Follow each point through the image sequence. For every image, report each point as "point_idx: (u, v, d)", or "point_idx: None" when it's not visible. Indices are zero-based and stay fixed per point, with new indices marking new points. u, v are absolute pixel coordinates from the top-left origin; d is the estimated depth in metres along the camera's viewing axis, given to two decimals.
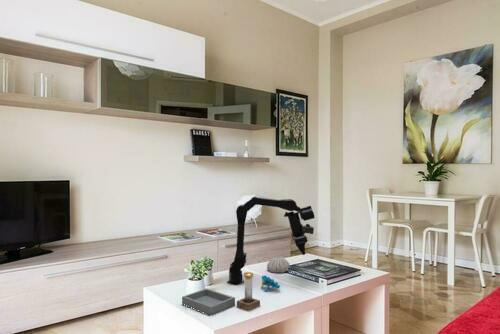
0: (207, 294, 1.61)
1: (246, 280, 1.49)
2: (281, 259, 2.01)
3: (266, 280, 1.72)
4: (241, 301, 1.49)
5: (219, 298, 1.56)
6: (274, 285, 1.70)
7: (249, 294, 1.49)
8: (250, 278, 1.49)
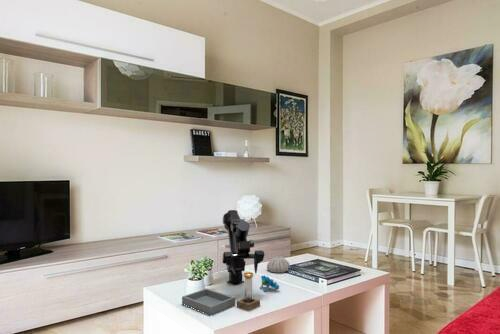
0: (207, 294, 1.61)
1: (246, 280, 1.49)
2: (281, 259, 2.01)
3: (265, 280, 1.71)
4: (241, 301, 1.49)
5: (219, 298, 1.56)
6: (273, 285, 1.70)
7: (249, 294, 1.49)
8: (250, 278, 1.49)
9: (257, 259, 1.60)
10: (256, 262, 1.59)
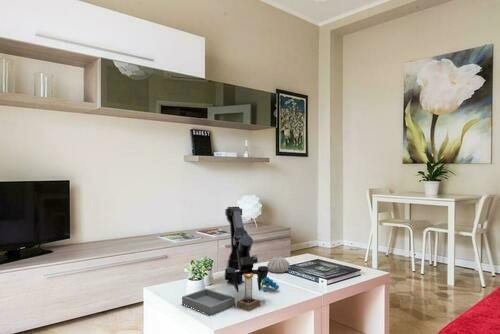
0: (207, 294, 1.61)
1: (246, 280, 1.49)
2: (281, 259, 2.01)
3: (265, 280, 1.71)
4: (241, 301, 1.49)
5: (219, 298, 1.56)
6: (273, 285, 1.70)
7: (249, 294, 1.49)
8: (250, 278, 1.49)
9: (261, 275, 1.53)
10: (259, 279, 1.52)
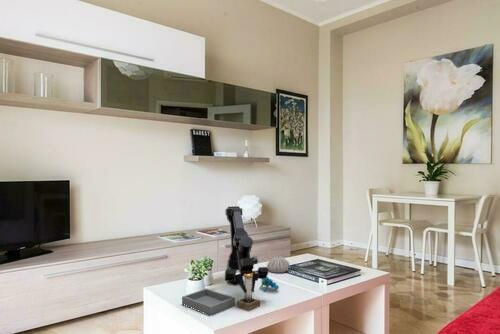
0: (207, 294, 1.61)
1: (246, 280, 1.49)
2: (281, 259, 2.01)
3: (265, 280, 1.71)
4: (241, 301, 1.49)
5: (219, 298, 1.56)
6: (273, 285, 1.70)
7: (249, 294, 1.49)
8: (250, 278, 1.49)
9: (254, 277, 1.52)
10: (253, 280, 1.52)
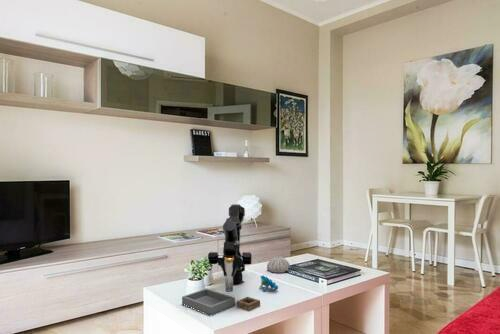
0: (207, 294, 1.61)
1: (226, 264, 1.49)
2: (281, 259, 2.01)
3: (265, 280, 1.71)
4: (241, 301, 1.49)
5: (219, 298, 1.56)
6: (272, 285, 1.70)
7: (229, 278, 1.48)
8: (230, 262, 1.48)
9: (236, 261, 1.51)
10: (234, 265, 1.51)
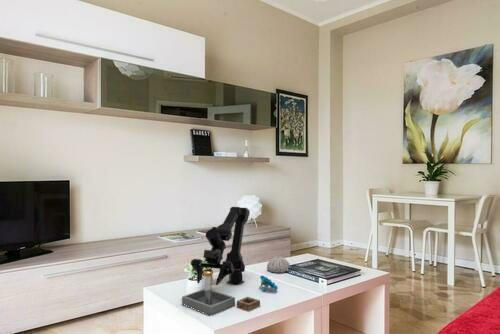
0: None
1: (204, 277, 1.50)
2: (281, 259, 2.01)
3: (264, 280, 1.71)
4: (241, 301, 1.49)
5: (219, 298, 1.56)
6: (272, 285, 1.70)
7: (206, 291, 1.50)
8: (208, 276, 1.49)
9: (221, 270, 1.51)
10: (219, 274, 1.51)
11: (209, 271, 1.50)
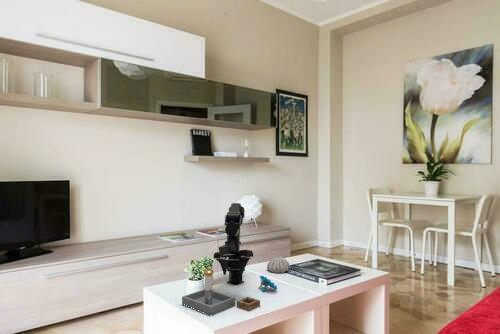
0: None
1: (205, 277, 1.51)
2: (281, 259, 2.01)
3: (264, 280, 1.71)
4: (241, 301, 1.49)
5: (219, 298, 1.56)
6: (271, 286, 1.70)
7: (207, 291, 1.50)
8: (208, 275, 1.50)
9: (241, 260, 1.57)
10: (240, 263, 1.57)
11: (210, 271, 1.51)
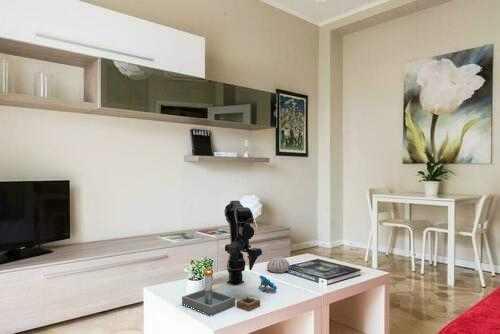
0: None
1: None
2: (281, 259, 2.01)
3: (264, 280, 1.71)
4: (241, 301, 1.49)
5: (219, 298, 1.56)
6: (271, 286, 1.70)
7: (207, 291, 1.50)
8: (208, 275, 1.50)
9: (249, 258, 1.60)
10: (249, 261, 1.61)
11: (209, 271, 1.51)
